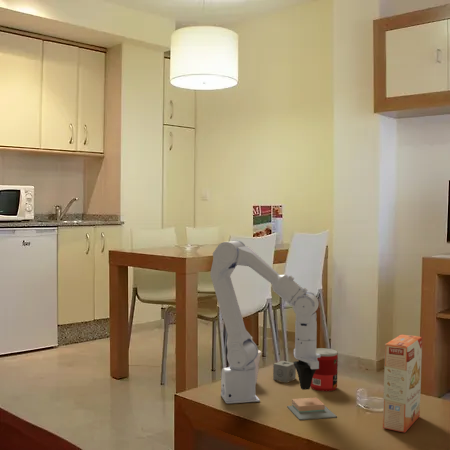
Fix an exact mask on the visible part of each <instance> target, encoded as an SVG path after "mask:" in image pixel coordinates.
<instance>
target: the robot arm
mask: <svg viewBox="0 0 450 450" xmlns="http://www.w3.org/2000/svg"><path fill="white" fill-rule="evenodd" d="M212 257H213V259H212V263H211V268H210V279H211V282H212V286H213V289H214V292H215V297H216V299H217V302H218V306H219V309H220V313H221V317H222V320H223V323H224V327H225V330H226V334H227V337H226V339H227V340H226V349H227V354H226V358H227V362H228V364H229V366H227V367H223V368H222V369H221V372H220V373H221V376H220V377H221V378H220V379H221V380H220V387H221V388H220V396H221V398H222V399H223V401H224V403H225V404H240V403H256V402H260V401H261V399H260V398H259V397H258V396H257V395H256V384H257V383H256V365H255V362H254V359H256V357H257V355H258V350H259V348H258V345H257V344H256V343H255V341H254V340H253V337H252V338H251V336H252V335H251V334H250V332H249V331H248V330H247V328H246V326H245V323H244V319H243V315H242V312H241V309H240V305H239V302H238V299H237V298H238V297H237V296H236V292H235V288H234V285H233V282H232V278H231V275H232V274H233V272H234V270H235V269H236V267H237V266H243V267H249V268H251V270H252V271H254V272H255V273H257V274H258V275H259V276H261V277H263V278H264V279H265V280H266V281H267V282H269V283H270V284H271V288H272V291H273V292H274V293H275V294H276V295H278V297H280V298H281V299H282V300H283V301H284V302H286V303H287V305H289V306H292V310H293V312H294V314H295V321H294V325H295V328H294V329H295V330H294V332H295V333H294V335H295V336H294V348H293V354H292V355H293V356H294V359H296V360H298V361H293V362H292V363H294V366H295V368H296V372H297V376H298V377H297V378H298V380H299V381H298V382H299V386H300V389H301V390H303V391H305V390H310V389H311V382H312V378H313V375H314V373H315V371H316V369H319V361H318V360H317V358H320V357H321V355H320V354H318V353H316V348H317V346H318V345H317V343H318V342H317V341H318V340H317V337H318V335H317V334H318V332H317V330H318V324H317V323H318V322H317V312H316V311H317V310H318V308H319V306H320V305H319V304H320V303H319V299H318V297H317V296H316V295H315V293H314V292H311V291H308V289H307V287H304V288H303V287H302V286H301V285H299V284H298V282H296V281H295V277H293V276H292V275H288V274H280V273H278V271H276V270H275V269H274V268H273V267H272V266H271V265H270V264H268V263H267V262H266V261H265V260H264V259H263V257H261V256H259V254H258V253H256V252H255V251H254V250H253V249H252V248H251V247H250V246H248V245H246V244H245V243H244V242H243V241H241V240H237V239H235V240H232V241H223V242H221V243H219V244H218V246H217V247H216V248H215V250H214V251H213V253H212ZM255 383H256V384H255Z"/></svg>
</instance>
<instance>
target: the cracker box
mask: <svg viewBox="0 0 450 450" xmlns="http://www.w3.org/2000/svg"><path fill="white" fill-rule="evenodd" d="M422 352H423V337H422V336H418V335H412V334H409V335H408V334H399V335H398V336H396V337H394V338H393V339H391V340H389V341H388V342H387V343H385V344H384V366H383V367H384V372H383V373H384V374H383V377H384V378H383V408H382V409H383V410H382V429H386V430H390V431H395V432H400V433H405V434H406V432H407V431H408V430H409V429H410V428H411V427H412V426H413V424H414V423H415V422H416V421H417V420H418V419H419V418H420V417H421V387H422V384H421V383H422V356H423V353H422Z"/></svg>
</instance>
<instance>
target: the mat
mask: <svg viewBox="0 0 450 450" xmlns="http://www.w3.org/2000/svg"><path fill="white" fill-rule="evenodd" d="M286 406H287V407H286V408H287V409H288V410H289V411H290V412H291V413H292V414H293V416H295V417H296V418H297V419H298V420H299V421H305V420H307V421H308V420H321V419H335V418H336V419H337V417H338V416H337V414H335V413H334V412H332V411H331V409H329V408H328V407H327V406H326V405H325V411H313V412H298V411H297V410H296V409H295V408H294V407H293V406H292V405H286Z"/></svg>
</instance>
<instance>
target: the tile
mask: <svg viewBox="0 0 450 450" xmlns="http://www.w3.org/2000/svg"><path fill="white" fill-rule="evenodd" d="M291 406H293V407H294V408H295V409H296V410H297V411H298V412H313V411H325V406H326V405H325V403H323V402H322V401H321V400H320V399H319V398H318V397H305V398H304V397H301V398H291Z"/></svg>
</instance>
